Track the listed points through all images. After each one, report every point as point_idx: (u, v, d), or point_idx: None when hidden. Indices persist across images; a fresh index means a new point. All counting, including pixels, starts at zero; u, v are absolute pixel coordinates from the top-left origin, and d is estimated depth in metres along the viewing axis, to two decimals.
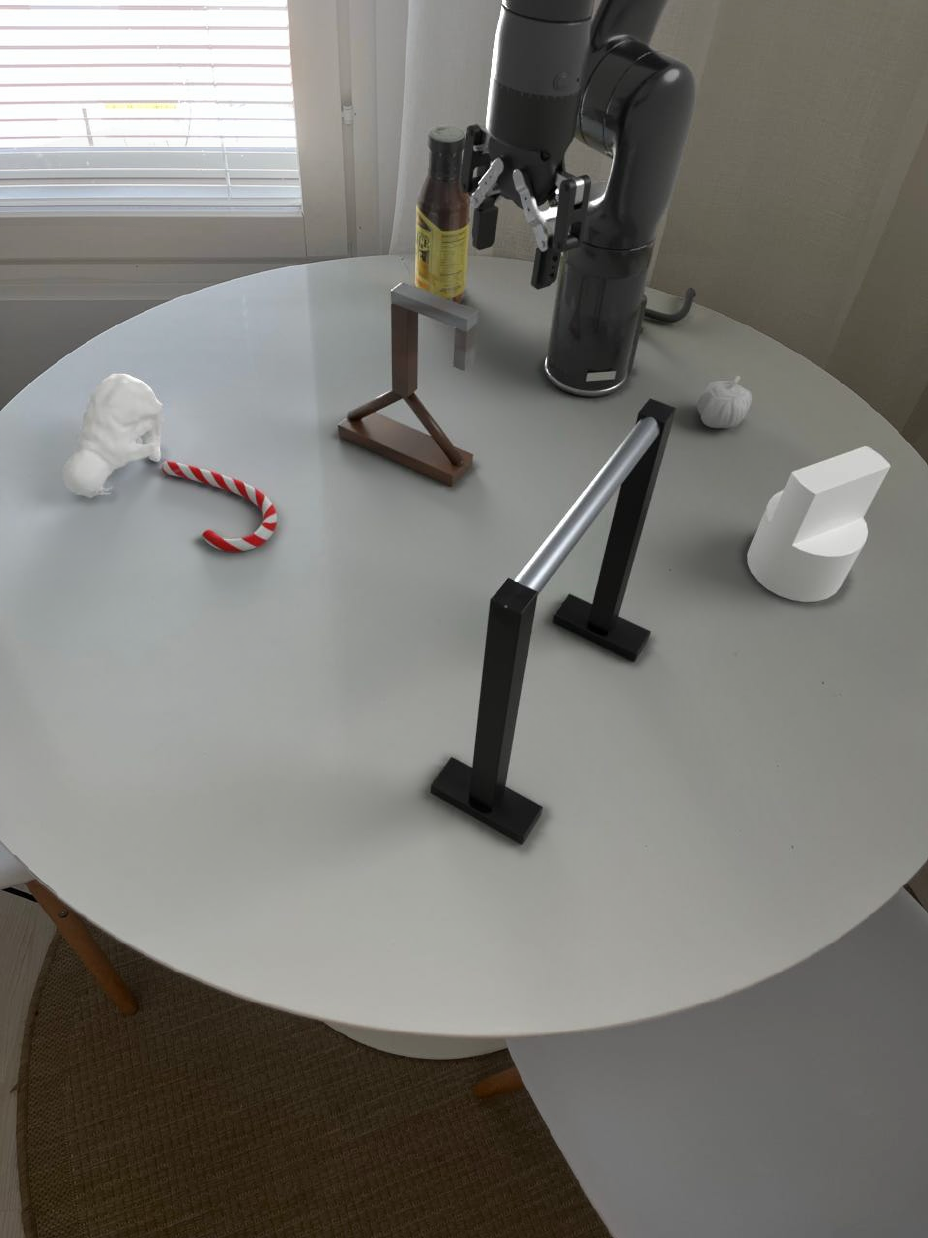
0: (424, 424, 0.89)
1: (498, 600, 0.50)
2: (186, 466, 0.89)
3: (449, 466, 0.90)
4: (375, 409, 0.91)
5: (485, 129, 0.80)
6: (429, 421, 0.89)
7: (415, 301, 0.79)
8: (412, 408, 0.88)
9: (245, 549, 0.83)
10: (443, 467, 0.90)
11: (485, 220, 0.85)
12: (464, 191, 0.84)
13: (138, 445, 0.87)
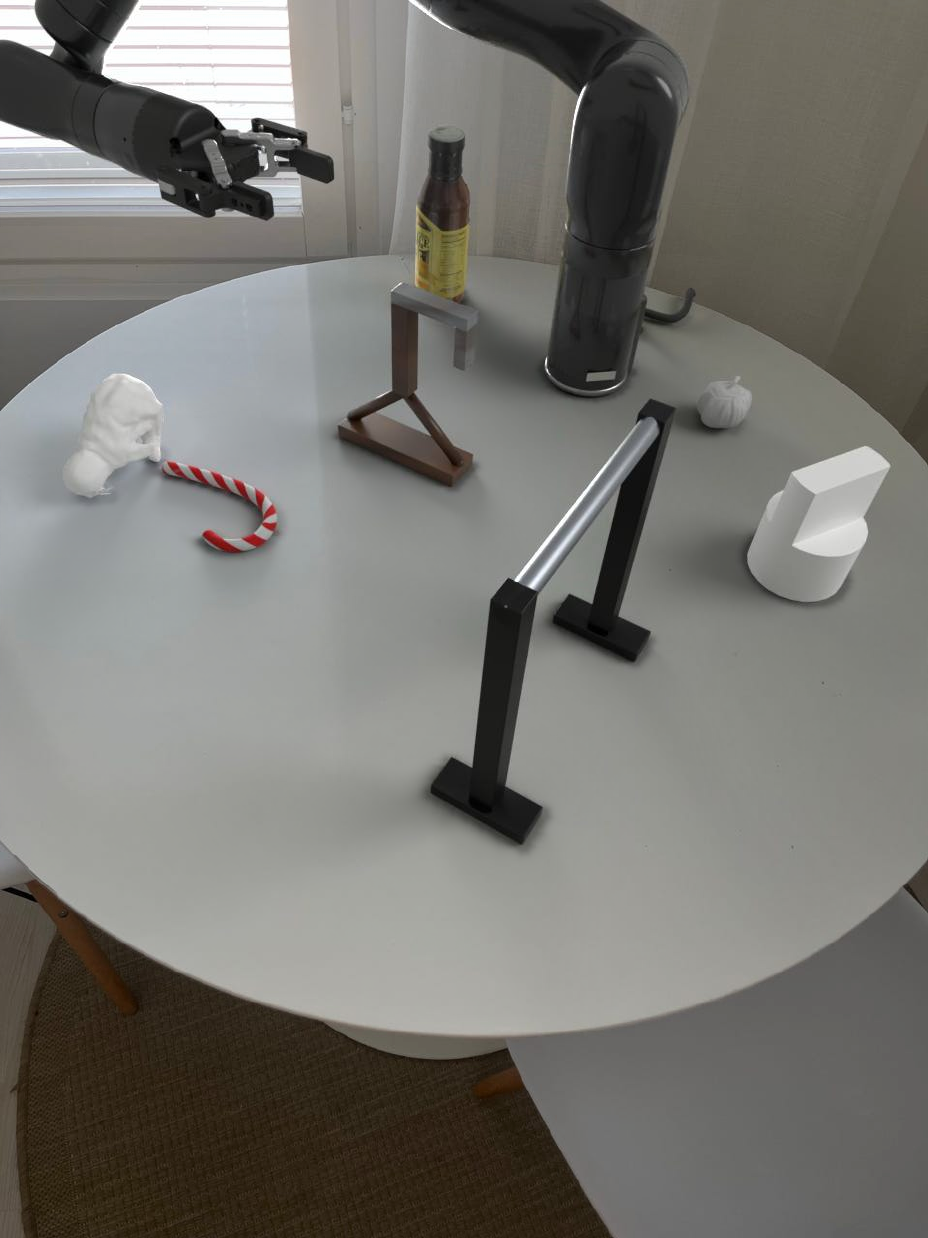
0: (424, 424, 0.89)
1: (498, 600, 0.50)
2: (186, 466, 0.89)
3: (449, 466, 0.90)
4: (375, 409, 0.91)
5: None
6: (429, 421, 0.89)
7: (415, 301, 0.79)
8: (412, 408, 0.88)
9: (245, 549, 0.83)
10: (443, 467, 0.90)
11: (304, 167, 0.82)
12: None
13: (138, 445, 0.87)
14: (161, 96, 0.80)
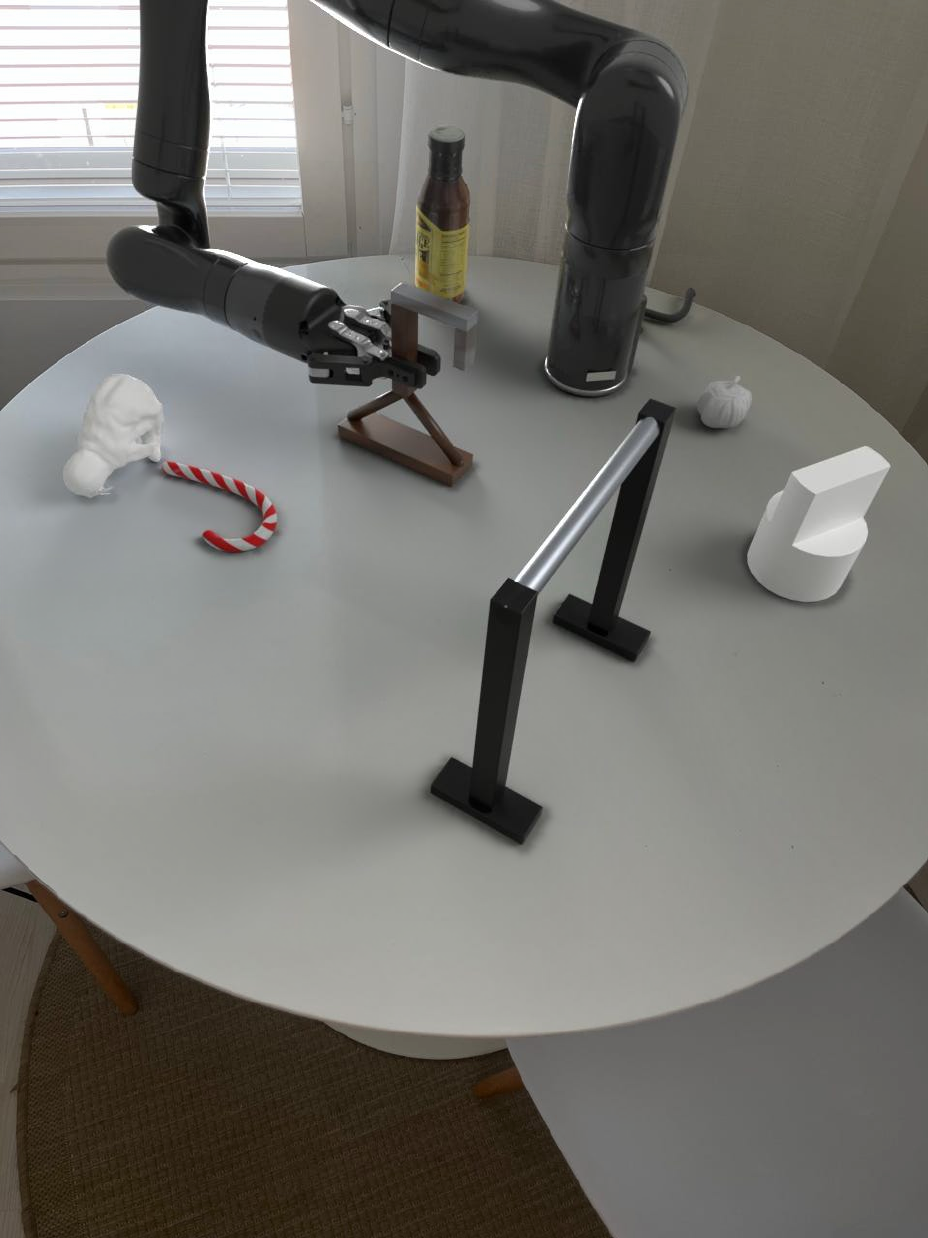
0: (424, 424, 0.89)
1: (498, 600, 0.50)
2: (186, 466, 0.89)
3: (449, 466, 0.90)
4: (375, 409, 0.91)
5: None
6: (429, 421, 0.89)
7: (415, 301, 0.79)
8: (412, 408, 0.88)
9: (245, 549, 0.83)
10: (443, 467, 0.90)
11: None
12: None
13: (138, 445, 0.87)
14: (289, 280, 0.87)
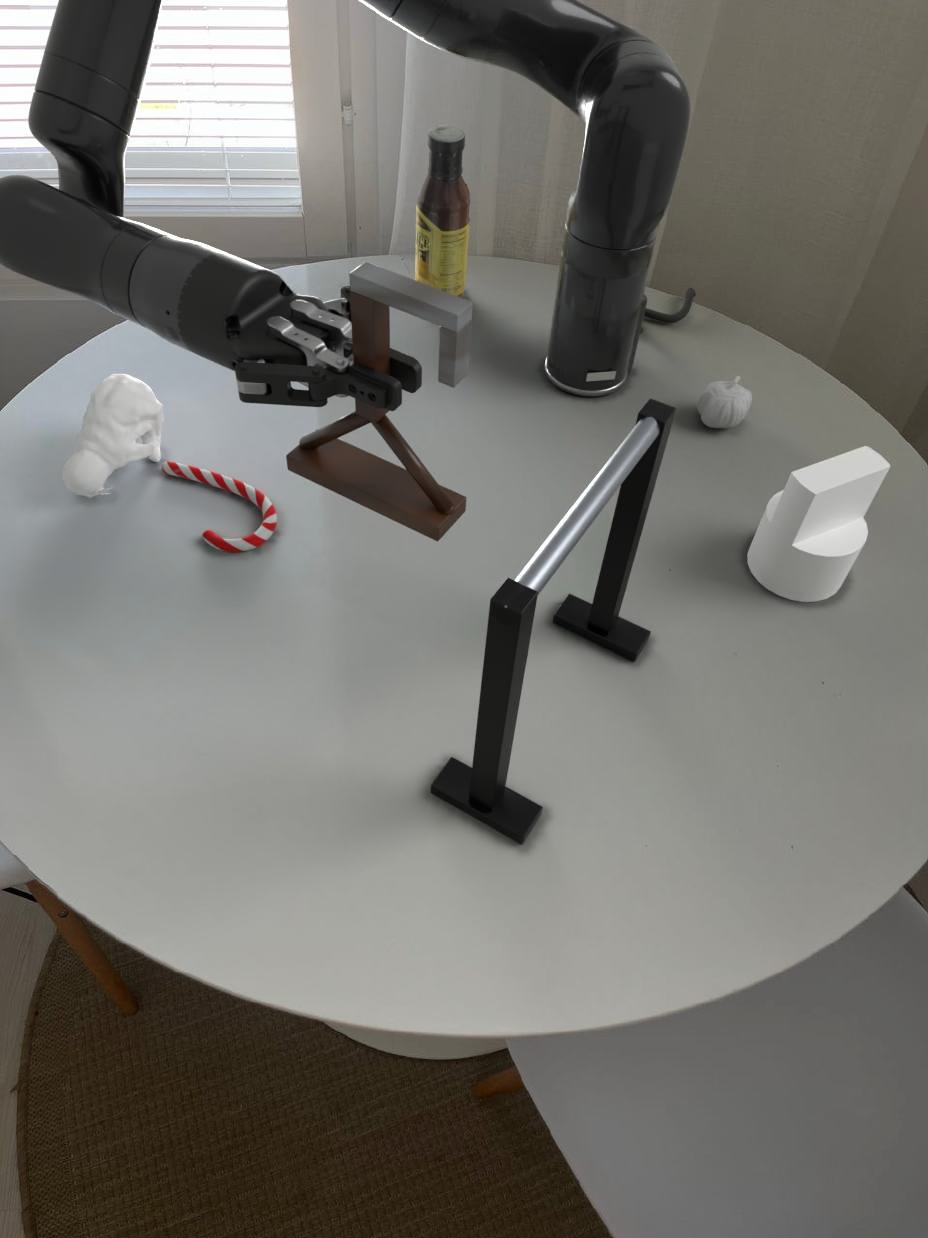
0: (400, 458, 0.65)
1: (498, 600, 0.50)
2: (186, 466, 0.89)
3: (434, 514, 0.67)
4: (335, 436, 0.68)
5: None
6: (406, 454, 0.65)
7: (383, 288, 0.55)
8: (383, 436, 0.65)
9: (245, 549, 0.83)
10: (426, 516, 0.67)
11: None
12: None
13: (138, 445, 0.87)
14: (215, 259, 0.63)
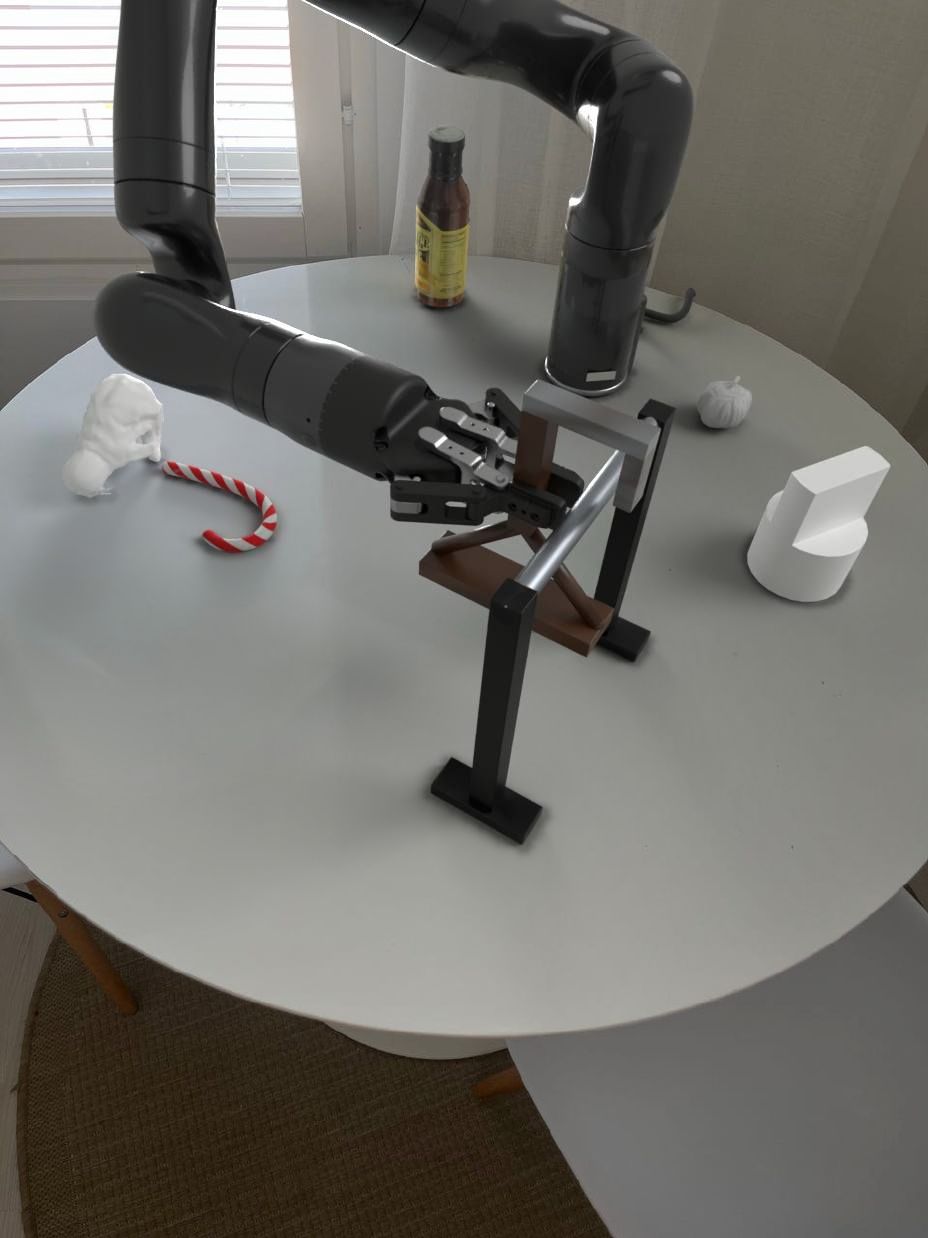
0: None
1: (498, 600, 0.50)
2: (186, 466, 0.89)
3: (584, 629, 0.63)
4: (476, 544, 0.64)
5: None
6: (558, 568, 0.61)
7: (563, 412, 0.52)
8: (534, 550, 0.61)
9: (245, 549, 0.83)
10: (575, 631, 0.63)
11: None
12: None
13: (138, 445, 0.87)
14: (359, 364, 0.59)
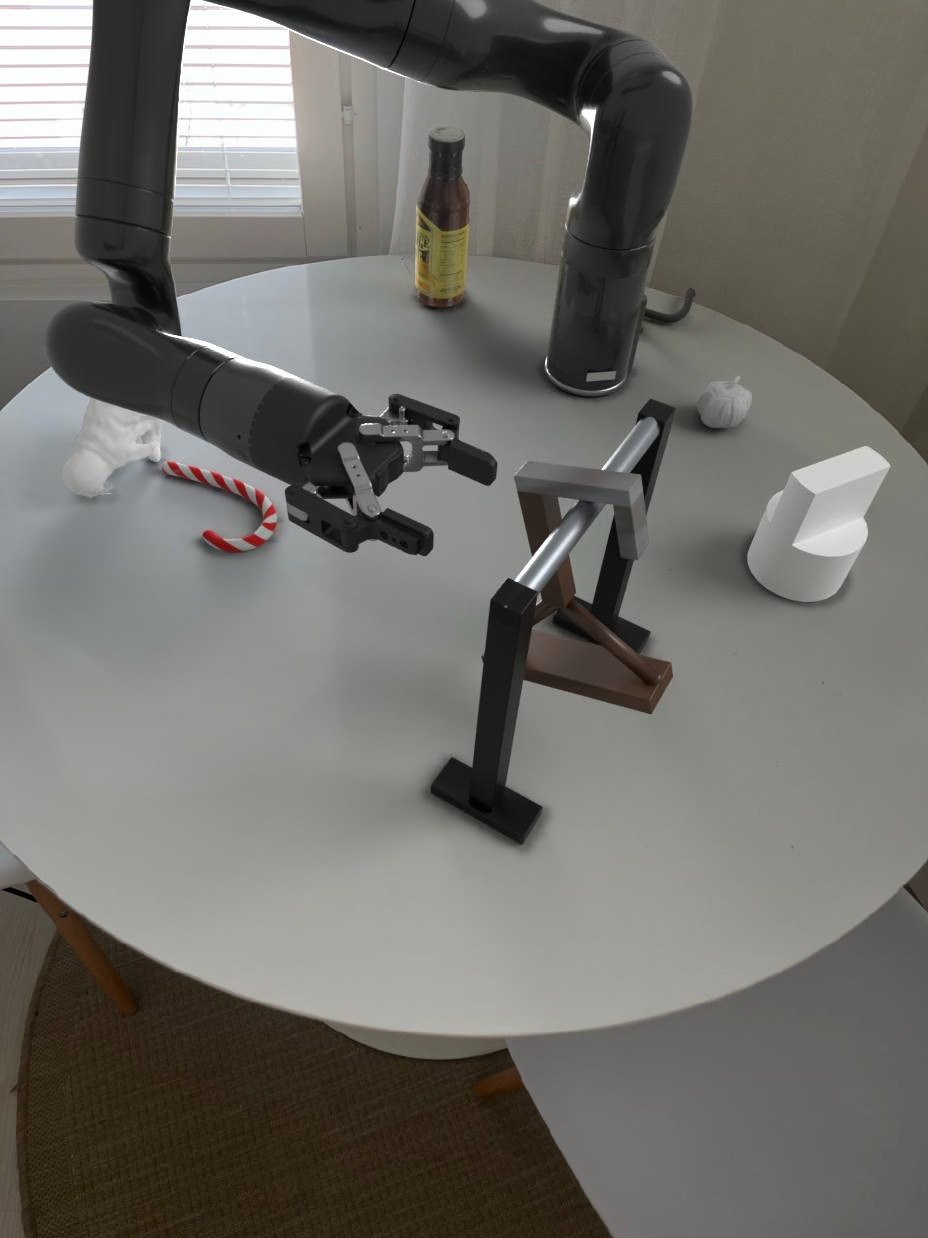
0: (595, 637, 0.64)
1: (498, 600, 0.50)
2: (186, 466, 0.89)
3: (642, 686, 0.64)
4: None
5: None
6: (601, 632, 0.63)
7: (549, 482, 0.56)
8: (574, 620, 0.64)
9: (245, 549, 0.83)
10: (634, 690, 0.64)
11: (458, 465, 0.66)
12: None
13: (138, 445, 0.87)
14: (285, 385, 0.65)
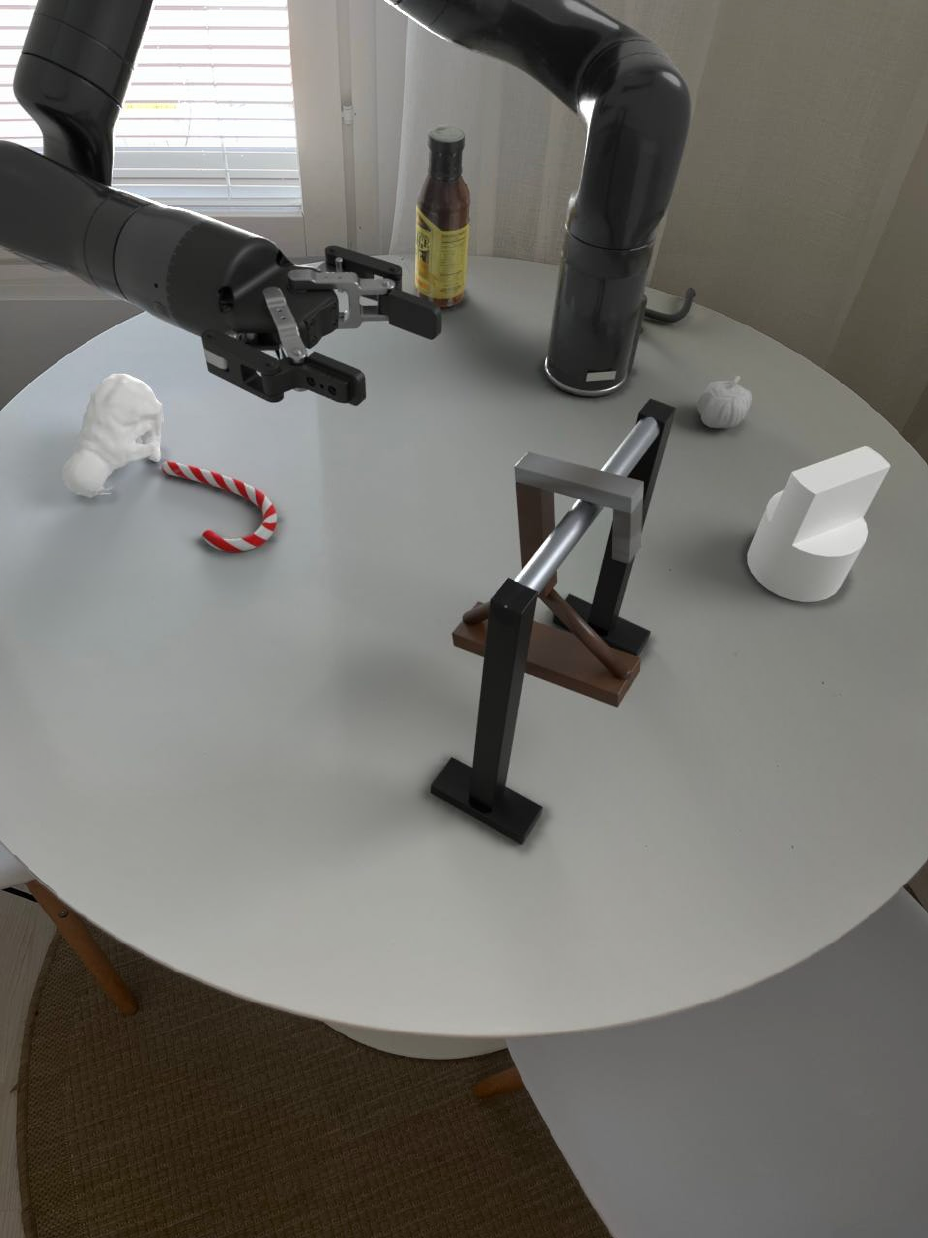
0: (571, 629, 0.64)
1: (498, 600, 0.50)
2: (186, 466, 0.89)
3: (611, 680, 0.65)
4: None
5: None
6: (577, 625, 0.64)
7: (551, 478, 0.55)
8: (553, 610, 0.64)
9: (245, 549, 0.83)
10: (603, 683, 0.65)
11: (400, 318, 0.60)
12: None
13: (138, 445, 0.87)
14: (206, 227, 0.58)
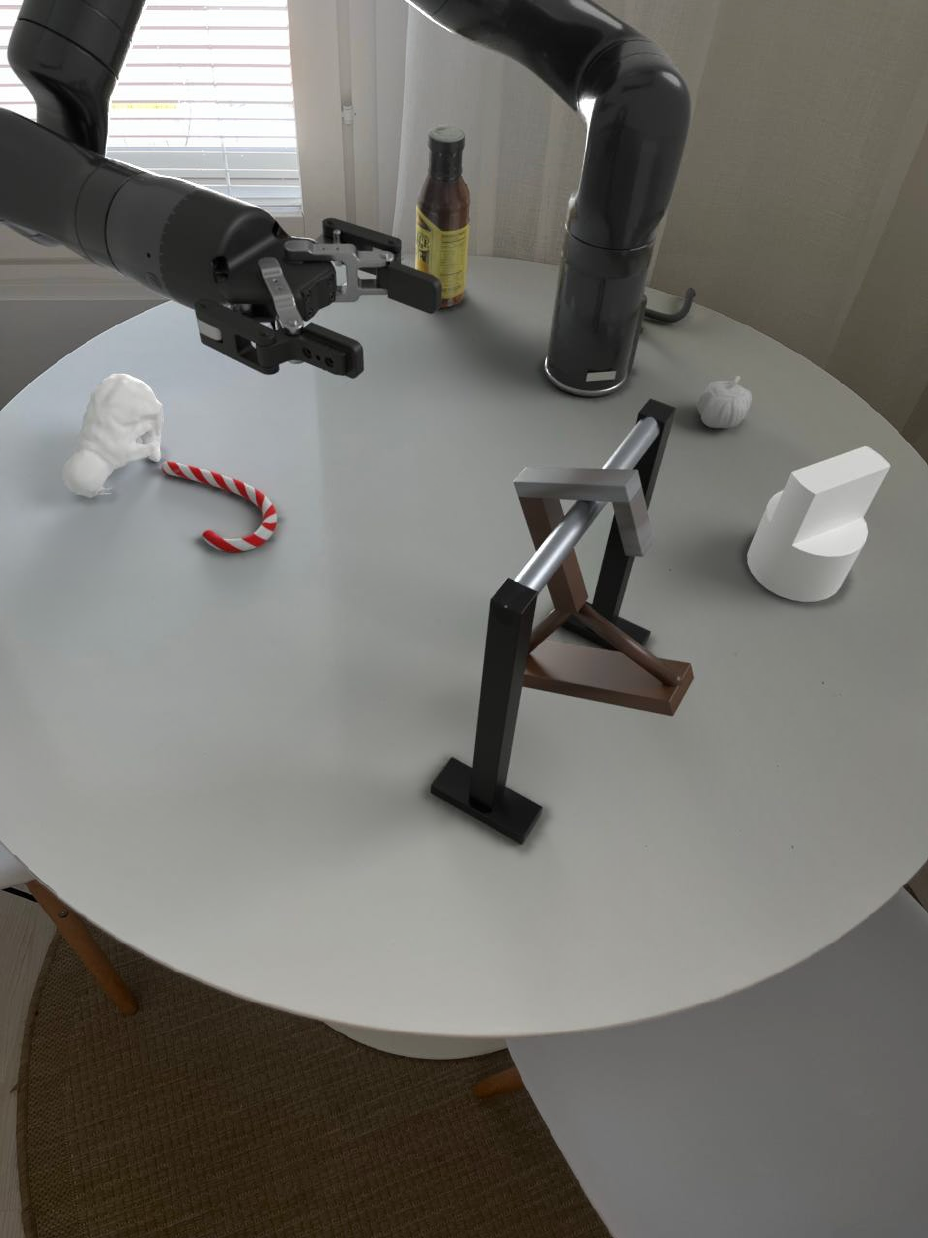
0: (610, 641, 0.63)
1: (498, 600, 0.50)
2: (186, 466, 0.89)
3: (662, 688, 0.63)
4: (542, 638, 0.67)
5: None
6: (616, 636, 0.63)
7: (548, 485, 0.56)
8: (588, 625, 0.63)
9: (245, 549, 0.83)
10: (653, 693, 0.63)
11: (399, 291, 0.58)
12: None
13: (138, 445, 0.87)
14: (200, 195, 0.57)
